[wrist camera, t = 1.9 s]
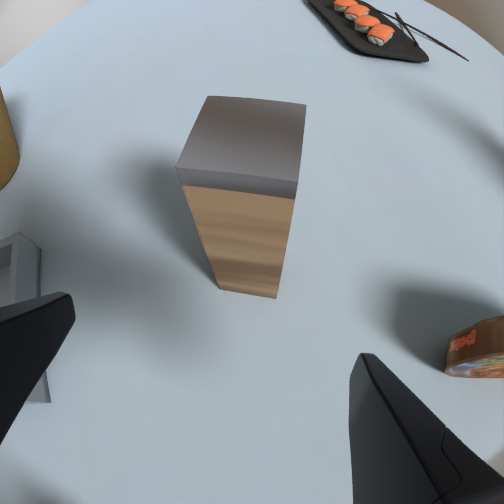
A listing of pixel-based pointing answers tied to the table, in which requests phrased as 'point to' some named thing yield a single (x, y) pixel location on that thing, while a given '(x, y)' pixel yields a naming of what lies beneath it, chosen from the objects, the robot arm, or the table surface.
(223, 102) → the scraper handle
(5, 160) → the plant pot
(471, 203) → the table surface
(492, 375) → the tin
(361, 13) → the sushi plate
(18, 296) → the box
